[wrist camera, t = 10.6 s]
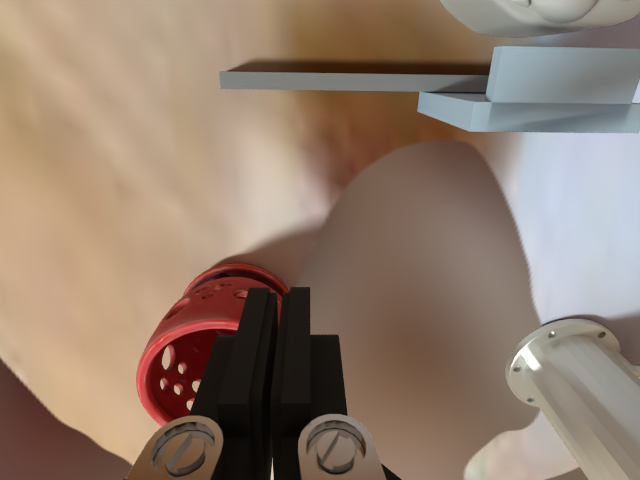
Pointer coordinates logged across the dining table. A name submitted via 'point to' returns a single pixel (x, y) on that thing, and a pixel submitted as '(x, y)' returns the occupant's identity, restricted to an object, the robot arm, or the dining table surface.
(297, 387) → the robot arm
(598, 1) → the lumpy-topped squat cylinder
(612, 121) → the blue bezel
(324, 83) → the grey long bars
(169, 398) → the plant pot
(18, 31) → the dining table surface
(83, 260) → the dining table surface
